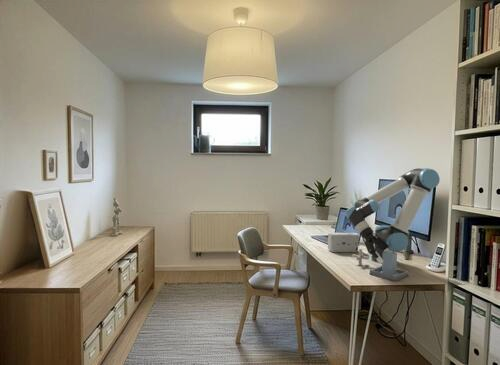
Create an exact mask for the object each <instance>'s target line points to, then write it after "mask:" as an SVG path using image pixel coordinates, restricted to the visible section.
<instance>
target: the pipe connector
mask: <svg viewBox="0 0 500 365" xmlns="http://www.w3.org/2000/svg"><path fill="white" fill-rule="evenodd" d="M351 257H352V258H356V260H357V261H358V266H363V265H362V264H363V261H362V260H363V259H364V260H370V256H366V255H365V254H363V249H362V248H358V254H354V253H353V254H352V255H351Z"/></svg>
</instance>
